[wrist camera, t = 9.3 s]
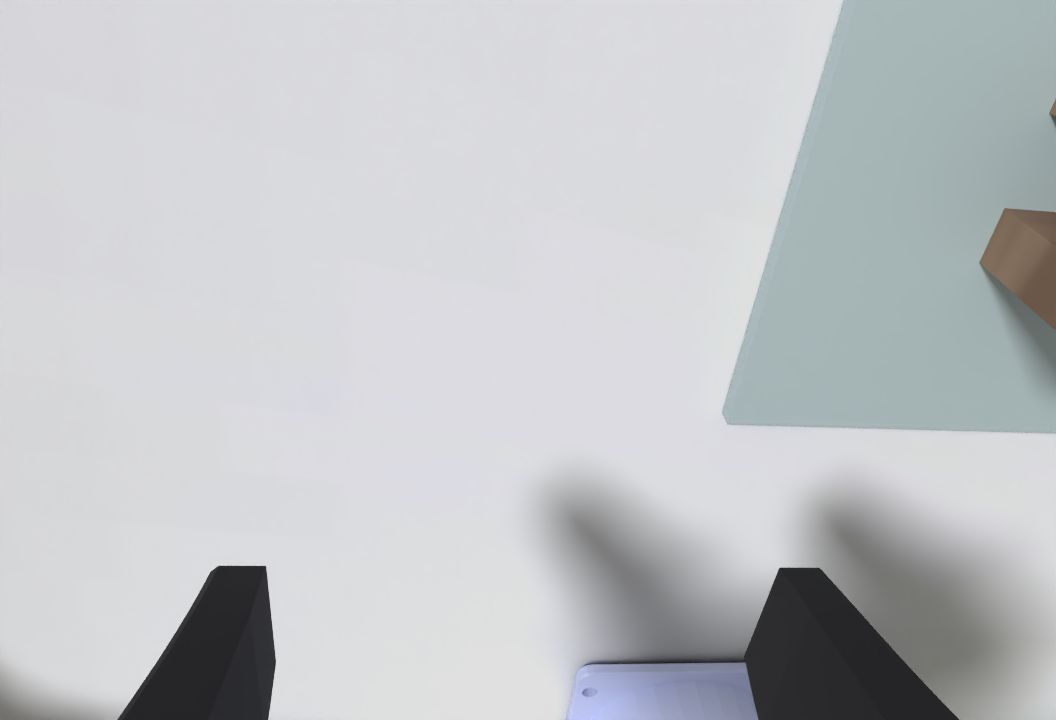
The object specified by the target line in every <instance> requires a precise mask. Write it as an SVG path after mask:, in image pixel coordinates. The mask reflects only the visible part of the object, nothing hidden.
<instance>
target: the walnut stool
mask: <svg viewBox="0 0 1056 720" xmlns="http://www.w3.org/2000/svg"><path fill="white" fill-rule="evenodd" d="M1049 113H1051V114H1053V115H1054V116H1056V99H1055V101H1054V104H1053V106H1052V108H1051V110H1050V112H1049ZM979 263H980V264H981V265H982V266H983V267H984V268H986V269H987V270H988V271H989V272H990V273H991V274H992V275H993V276H995V277H996V278H997V279H998V280H999V281H1000V282H1001V283H1002V284H1004V285H1005V286H1006V287H1007V288H1008V289H1009V290H1010V291H1012V292H1013V293H1014V294H1015V295H1016V296H1017V297H1018V298H1019V299H1021V300H1022V301H1023V302H1024V303H1025V304H1026V305H1027V306H1028V307H1030V308H1031V309H1032V310H1033V311H1034V312H1035V313H1036V314H1038V315H1039V316H1040V317H1041V318H1042V319H1043V320H1044V321H1045V322H1047V323H1048V324H1049V325H1050V326H1051V327H1052V328H1053V329H1054V330H1056V212H1048V211H1035V210H1022V209H1009V208H1004V210H1003V213H1002V215H1001V217H1000V219H999V221H998V223H997V225H996V228H995V230H994V232H993V234H992V236H991V238H990V240H989V243H988V245H987V247H986V249H985V251H984V253H983V255H982V257H981V260H980V262H979Z"/></svg>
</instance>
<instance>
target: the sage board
mask: <svg viewBox="0 0 1056 720" xmlns="http://www.w3.org/2000/svg"><path fill="white" fill-rule="evenodd" d="M1055 99H1056V0H844V3H843V7H842V10H841V13H840V17H839V20H838V24H837V27H836V30H835V34H834V37H833V40H832V44H831V47H830V51H829V54H828V57H827V61H826V64H825V67H824V71H823V74H822V77H821V81H820V84H819V88H818V91H817V94H816V98H815V101H814V104H813V108H812V111H811V115H810V118H809V121H808V125H807V128H806V131H805V135H804V138H803V142H802V145H801V148H800V152H799V155H798V158H797V162H796V165H795V169H794V172H793V175H792V179H791V182H790V185H789V189H788V192H787V196H786V199H785V202H784V206H783V209H782V212H781V216H780V219H779V223H778V226H777V229H776V233H775V236H774V239H773V243H772V246H771V250H770V253H769V256H768V260H767V263H766V266H765V270H764V273H763V277H762V280H761V283H760V287H759V290H758V293H757V297H756V300H755V304H754V307H753V310H752V314H751V317H750V320H749V324H748V327H747V330H746V334H745V337H744V341H743V344H742V347H741V351H740V354H739V357H738V361H737V364H736V368H735V371H734V374H733V378H732V381H731V384H730V388H729V391H728V395H727V398H726V401H725V405H724V408H723V411H722V413H723V416H724V418H725V420H726V422H727V424H730V425H767V426H805V427H842V428H879V429H916V430H953V431H990V432H1027V433H1056V330H1054V329H1053V328H1052V327H1051V326H1050V325H1049V324H1048V323H1047V322H1045V321H1044V320H1043V319H1042V318H1041V317H1040V316H1039V315H1038V314H1036V313H1035V312H1034V311H1033V310H1032V309H1031V308H1030V307H1028V306H1027V305H1026V304H1025V303H1024V302H1023V301H1022V300H1021V299H1019V298H1018V297H1017V296H1016V295H1015V294H1014V293H1013V292H1012V291H1010V290H1009V289H1008V288H1007V287H1006V286H1005V285H1004V284H1002V283H1001V282H1000V281H999V280H998V279H997V278H996V277H995V276H993V275H992V274H991V273H990V272H989V271H988V270H987V269H986V268H984V267H983V266H982V265H981V264H980V263H979V262H980V260H981V257H982V255H983V253H984V251H985V249H986V247H987V245H988V243H989V240H990V238H991V236H992V234H993V232H994V230H995V228H996V225H997V223H998V221H999V219H1000V217H1001V215H1002V213H1003V210H1004V208H1009V209H1022V210H1035V211H1048V212H1056V116H1054V115H1053V114H1051V113H1049V112H1050V110H1051V108H1052V106H1053V104H1054V101H1055Z"/></svg>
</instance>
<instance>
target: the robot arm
mask: <svg viewBox="0 0 1056 720" xmlns="http://www.w3.org/2000/svg"><path fill="white" fill-rule="evenodd" d="M744 658H745V663H667V664H592V665H586V666H583V667H582V668H580V669H579V670H578V671H577V673H576V676H575V680H574V685H573V689H572V694H571V698H570V703H569V707H568V712H567V716H566V720H959V719H958V718H957V717H956V716H955V715H954V714H953V713H952V712H951V711H950V710H949V709H948V708H947V707H946V706H945V705H944V704H943V703H942V702H941V700H940V699H939V698H938V697H937V696H936V695H935V694H934V693H933V692H932V691H931V690H930V689H929V688H928V687H927V686H926V685H925V684H924V683H923V682H922V680H921V679H920V678H919V677H918V676H917V675H916V674H915V673H914V672H913V671H912V670H911V669H910V668H909V667H908V665H907V664H906V663H905V662H904V661H903V660H902V659H901V658H900V657H899V656H898V655H897V653H896V652H895V651H894V650H893V649H892V648H891V647H890V646H889V645H888V644H887V642H886V641H885V640H884V639H883V638H882V637H881V636H880V635H879V634H878V632H877V631H876V630H875V629H874V628H873V627H872V626H871V625H870V624H869V622H868V621H867V620H866V619H865V618H864V617H863V616H862V615H861V613H860V612H859V611H858V610H857V609H856V608H855V607H854V606H853V604H852V603H851V602H850V601H849V600H848V599H847V598H846V597H845V596H844V594H843V593H842V592H841V591H840V590H839V589H838V588H837V587H836V585H835V584H834V583H833V582H832V581H831V580H830V579H829V578H828V577H827V576H826V574H825V573H824V572H823V571H822V570H821V569H820V568H779V570H778V573H777V575H776V578H775V580H774V583H773V585H772V588H771V591H770V593H769V596H768V598H767V601H766V603H765V606H764V608H763V611H762V613H761V616H760V618H759V621H758V623H757V626H756V628H755V631H754V633H753V636H752V638H751V641H750V643H749V646H748V648H747V651H746V653H745V656H744ZM275 665H276V659H275V649H274V640H273V630H272V620H271V610H270V601H269V591H268V581H267V572H266V566H218V567H217V568H215V569H214V570H212V571H211V572H210V574H209V576H208V578H207V580H206V582H205V583H204V585H203V587H202V589H201V591H200V593H199V594H198V596H197V598H196V600H195V601H194V603H193V605H192V607H191V608H190V610H189V612H188V613H187V615H186V617H185V618H184V620H183V622H182V623H181V625H180V627H179V628H178V630H177V631H176V633H175V635H174V636H173V638H172V639H171V641H170V642H169V644H168V646H167V647H166V649H165V650H164V652H163V653H162V655H161V657H160V658H159V660H158V661H157V663H156V664H155V666H154V667H153V669H152V670H151V672H150V673H149V675H148V676H147V677H146V679H145V680H144V682H143V683H142V685H141V686H140V688H139V689H138V691H137V692H136V694H135V695H134V696H133V698H132V699H131V701H130V702H129V704H128V705H127V707H126V708H125V710H124V711H123V713H122V714H121V715H120V717H119V718H118V720H268V716H269V709H270V702H271V695H272V687H273V680H274V672H275Z"/></svg>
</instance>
